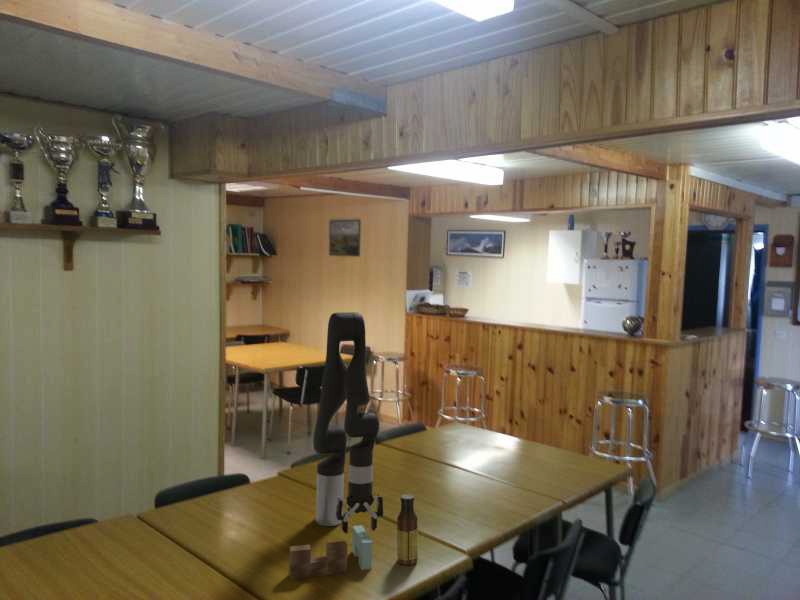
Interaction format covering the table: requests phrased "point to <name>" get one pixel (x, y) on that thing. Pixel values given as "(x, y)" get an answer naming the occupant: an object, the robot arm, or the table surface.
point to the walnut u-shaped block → (318, 561)
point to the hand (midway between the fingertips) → (359, 531)
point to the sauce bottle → (407, 532)
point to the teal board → (362, 547)
